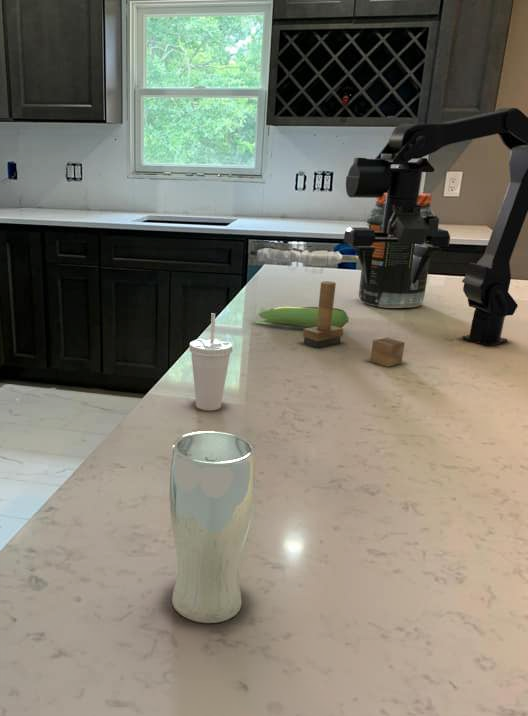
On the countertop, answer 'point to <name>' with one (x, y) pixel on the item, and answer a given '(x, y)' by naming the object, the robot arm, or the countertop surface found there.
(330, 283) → the brush
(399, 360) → the cork block
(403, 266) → the supplement tub
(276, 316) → the edible corn
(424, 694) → the countertop surface
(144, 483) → the countertop surface
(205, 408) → the smoothie
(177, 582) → the beer glass
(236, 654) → the countertop surface
